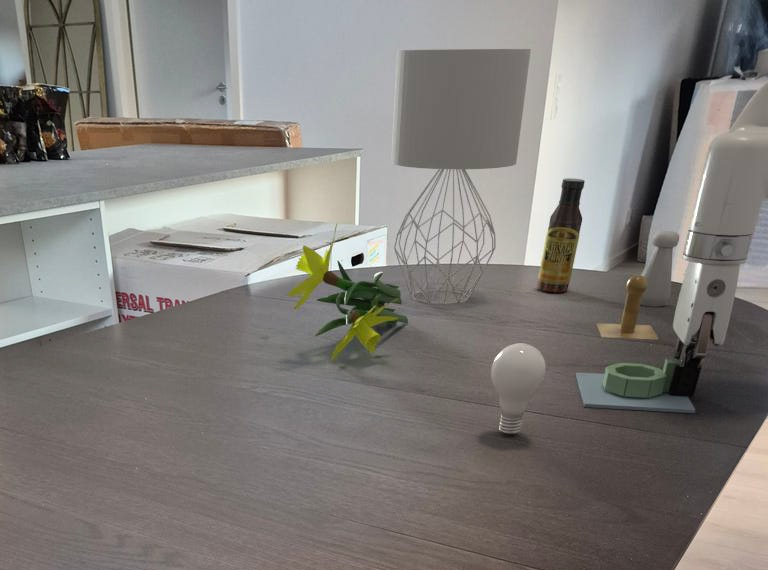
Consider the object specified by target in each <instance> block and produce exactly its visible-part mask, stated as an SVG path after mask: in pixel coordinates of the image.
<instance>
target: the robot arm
mask: <svg viewBox="0 0 768 570" xmlns="http://www.w3.org/2000/svg"><path fill="white" fill-rule="evenodd" d="M708 145H709V146H708V147H707V152H706V156H705V159H704V163H703V168H702V171H701V177H700V180H699V184H698V189H697V194H696V198H695V201H694V205H693V209H692V214H691V218H690V221H689V222H690V223H689V226H688V230H687V233H686V234H687V235H686V239H685V244H684V247H683V251H682V254H681V255H682V256H681V259H682V260H684V261H687V265H686V269H685V273H684V276H683V279H682V284H681V286H680V291H679V295H678V299H677V303H676V306H675V311H674V315H673V316H674V317H673V321H672V328H673V331H674V332H675V334H676V336H677V339H676V342H675V347H674V351H673V357H672V359H674V360H679V365H676V366H675V370H674V374H673V377H672V381H671V385H670V389H669V394H670V395H671V396H684V397H688V398H693V397H694V395H695V393H696V390H697V386H698V382H699V378H700V375H701V371H702V368H703V365H704V360H705V358H706V357H707V353H708V348H709V343H710V342H711V343H712V344H713V345H714V347H716V348H720V347H721V346H723V345H724V343H725V341H726V336H727V332H728V327H729V323H730V319H731V314H732V311H733V307H734V302H735V297H736V294H737V293H736V292H737V287H738V281H739V274H740V268H741V265H743V264H746V263H747V260H748V256H749V253H750V250H751V247H752V243H753V239H754V235H755V231H756V228H757V224H758V221H759V217H760V213H761V211H762V206H763V204H764V201H766V200H768V79H767V80H766V81H765V82H764V83H763V84H762V85H761V86H760V87H759V88H758V90H756V92H755V93H754V94H753V95H752V96H751V98H750V99H749V100H748V102H747V103H746V105H745V106H744V108H743V109H742V111H741V112H740V113H739V115H738V117H737V118H736V120H735V121H734V123H733V124H732V126H730V128H729V130H728V132H725V133H724V132H723V133H721V134H718V135H716V136H715V137H714V138H713V139H712V140H711V141H710V143H709V144H708Z"/></svg>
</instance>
